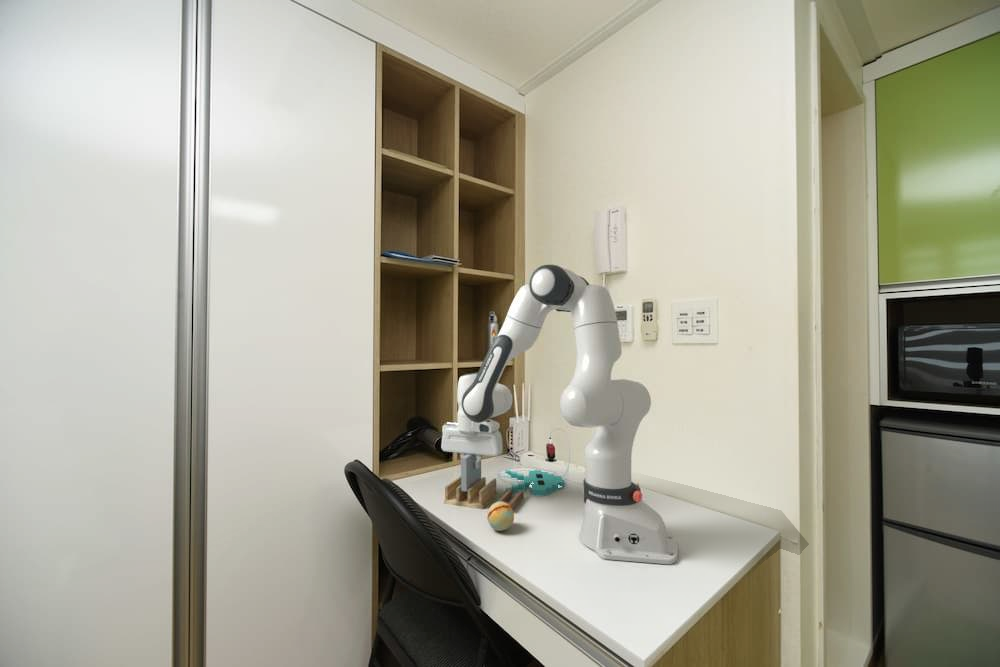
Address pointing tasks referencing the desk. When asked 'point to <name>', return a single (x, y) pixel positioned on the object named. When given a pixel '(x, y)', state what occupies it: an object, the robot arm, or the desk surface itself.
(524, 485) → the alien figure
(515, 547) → the desk surface
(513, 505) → the stand
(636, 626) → the desk surface
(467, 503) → the rack
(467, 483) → the plate
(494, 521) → the ball
